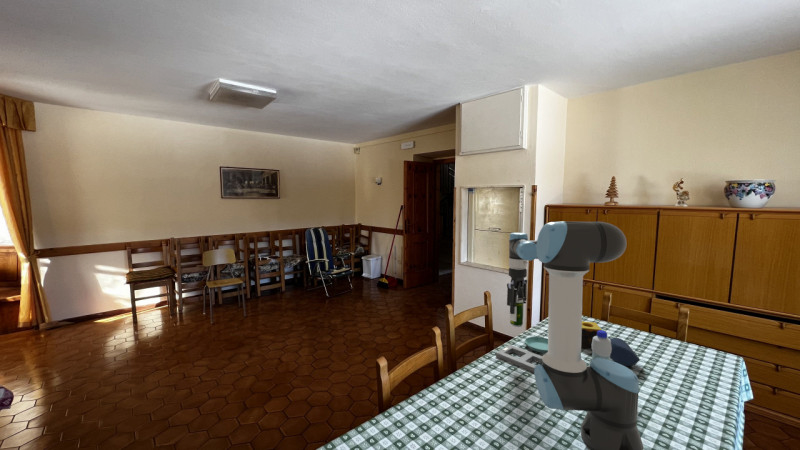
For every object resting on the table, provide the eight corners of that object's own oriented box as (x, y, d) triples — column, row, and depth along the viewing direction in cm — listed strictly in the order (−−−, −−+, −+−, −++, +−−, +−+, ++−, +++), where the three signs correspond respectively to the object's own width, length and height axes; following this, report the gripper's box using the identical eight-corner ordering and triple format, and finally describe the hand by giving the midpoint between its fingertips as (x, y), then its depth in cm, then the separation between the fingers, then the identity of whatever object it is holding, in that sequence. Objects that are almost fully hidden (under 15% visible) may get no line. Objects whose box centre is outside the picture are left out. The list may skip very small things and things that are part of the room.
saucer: (565, 352, 148) (565, 346, 147) (541, 358, 142) (541, 352, 142) (541, 339, 161) (541, 334, 161) (518, 344, 156) (518, 339, 156)
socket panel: (544, 376, 127) (544, 371, 127) (496, 356, 143) (496, 352, 143) (557, 366, 135) (557, 361, 134) (510, 348, 151) (510, 344, 151)
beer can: (519, 322, 144) (519, 296, 143) (525, 326, 139) (525, 300, 138) (508, 322, 144) (508, 297, 143) (513, 327, 139) (513, 300, 138)
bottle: (613, 386, 120) (615, 335, 119) (594, 384, 122) (596, 333, 120) (605, 376, 127) (607, 328, 125) (587, 374, 128) (589, 326, 127)
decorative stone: (612, 369, 132) (613, 346, 131) (601, 355, 144) (602, 334, 143) (644, 372, 129) (645, 349, 128) (630, 358, 141) (631, 337, 140)
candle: (577, 347, 152) (578, 327, 151) (572, 339, 161) (573, 320, 161) (601, 350, 149) (602, 330, 148) (595, 341, 158) (595, 322, 158)
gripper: (514, 272, 131) (513, 326, 132) (536, 266, 143) (534, 316, 144) (498, 269, 136) (497, 321, 138) (520, 263, 148) (519, 311, 150)
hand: (516, 318), depth 141 cm, fingers closed on beer can, 5 cm apart
